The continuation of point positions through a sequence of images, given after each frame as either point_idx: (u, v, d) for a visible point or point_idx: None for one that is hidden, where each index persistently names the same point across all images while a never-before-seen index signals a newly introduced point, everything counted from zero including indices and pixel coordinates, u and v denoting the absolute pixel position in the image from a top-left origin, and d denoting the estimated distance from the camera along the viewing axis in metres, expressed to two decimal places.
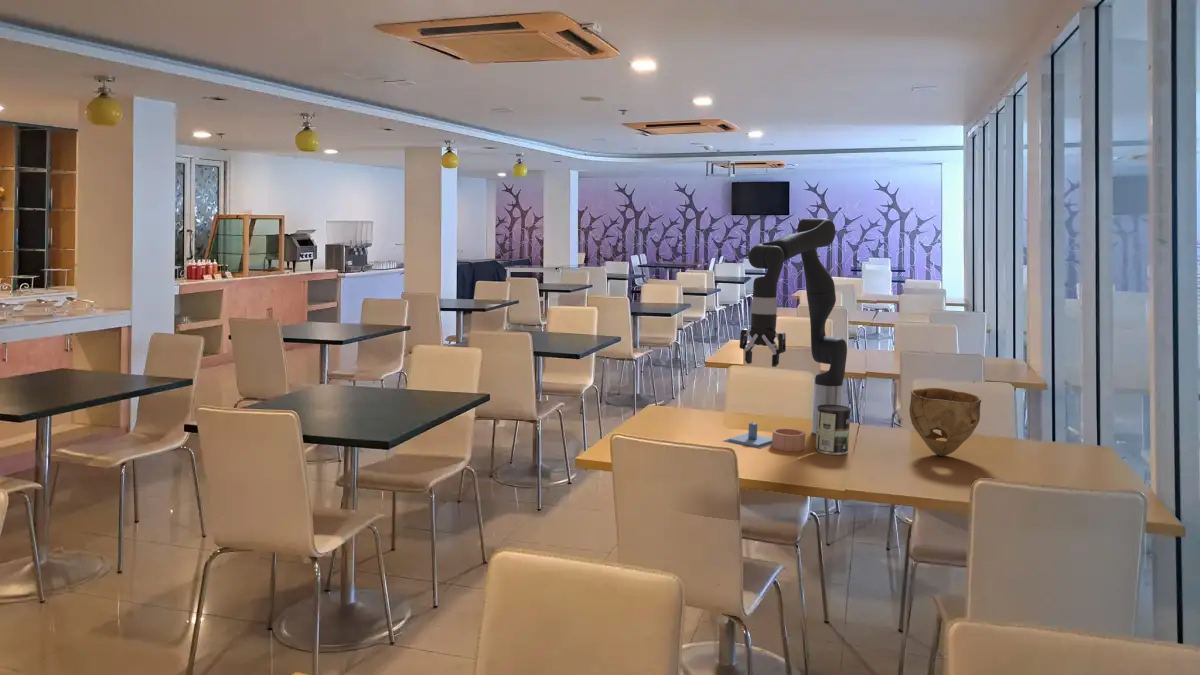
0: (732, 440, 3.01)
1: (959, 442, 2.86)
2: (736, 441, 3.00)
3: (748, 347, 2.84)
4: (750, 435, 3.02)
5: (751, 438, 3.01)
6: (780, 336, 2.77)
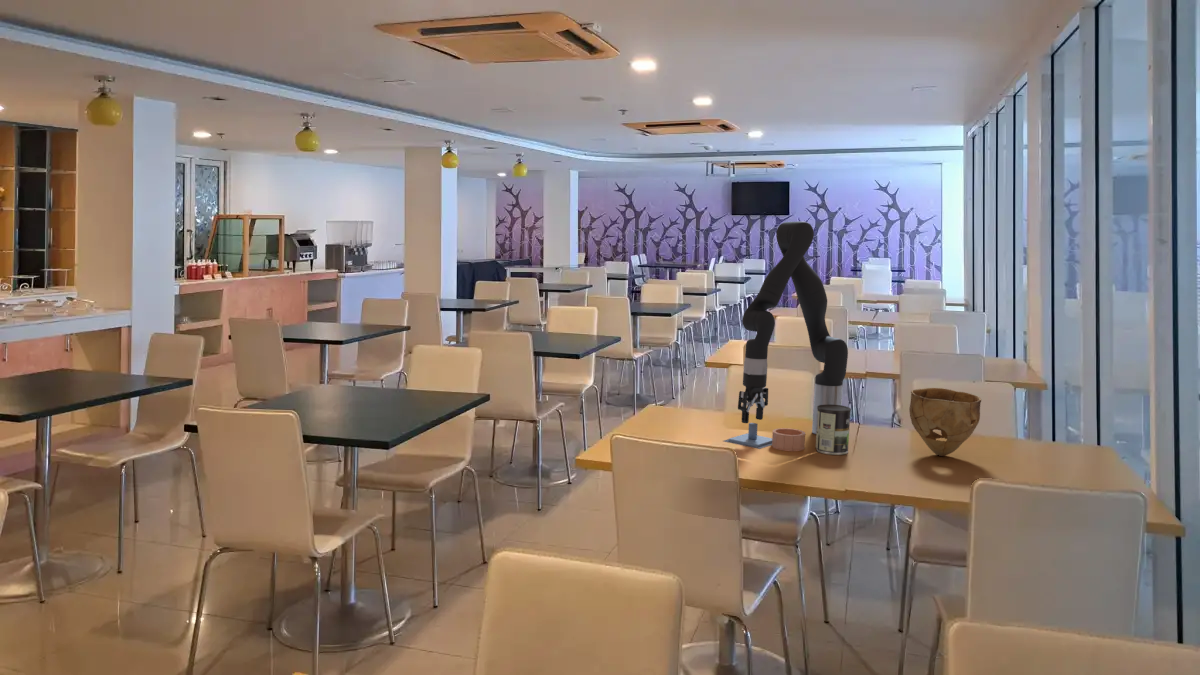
0: (732, 440, 3.01)
1: (959, 442, 2.86)
2: (736, 441, 3.00)
3: (749, 407, 2.97)
4: (750, 435, 3.02)
5: (751, 438, 3.01)
6: (767, 390, 3.05)
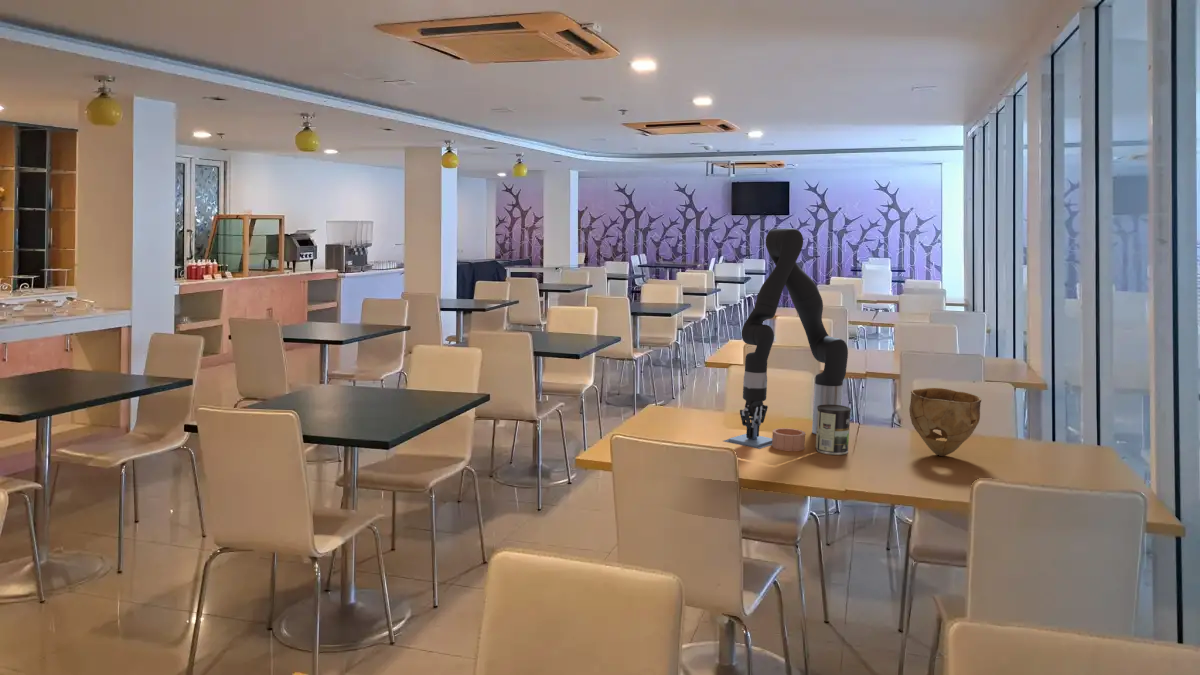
0: (732, 440, 3.01)
1: (959, 442, 2.86)
2: (736, 441, 3.00)
3: (753, 423, 3.00)
4: None
5: None
6: (766, 408, 3.05)
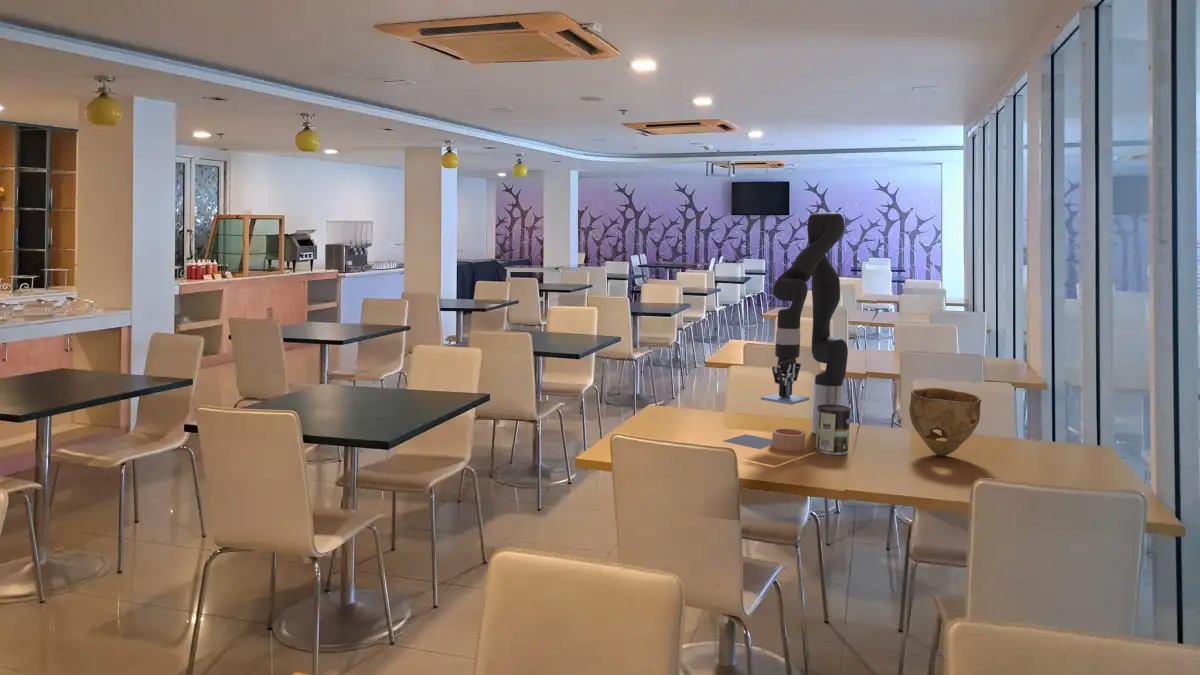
0: (764, 398, 2.95)
1: (959, 442, 2.86)
2: (768, 399, 2.93)
3: (785, 380, 2.93)
4: None
5: None
6: (799, 366, 2.98)
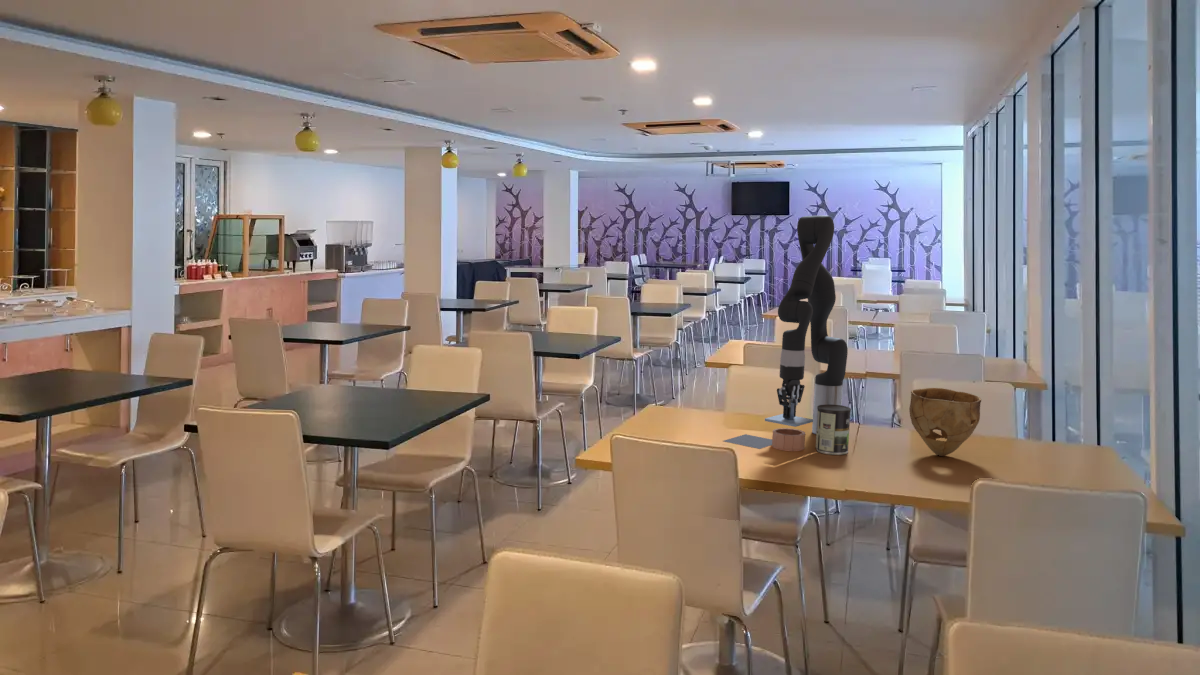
0: (768, 420, 2.94)
1: (959, 442, 2.86)
2: (772, 421, 2.93)
3: (790, 402, 2.92)
4: None
5: None
6: (803, 388, 2.98)
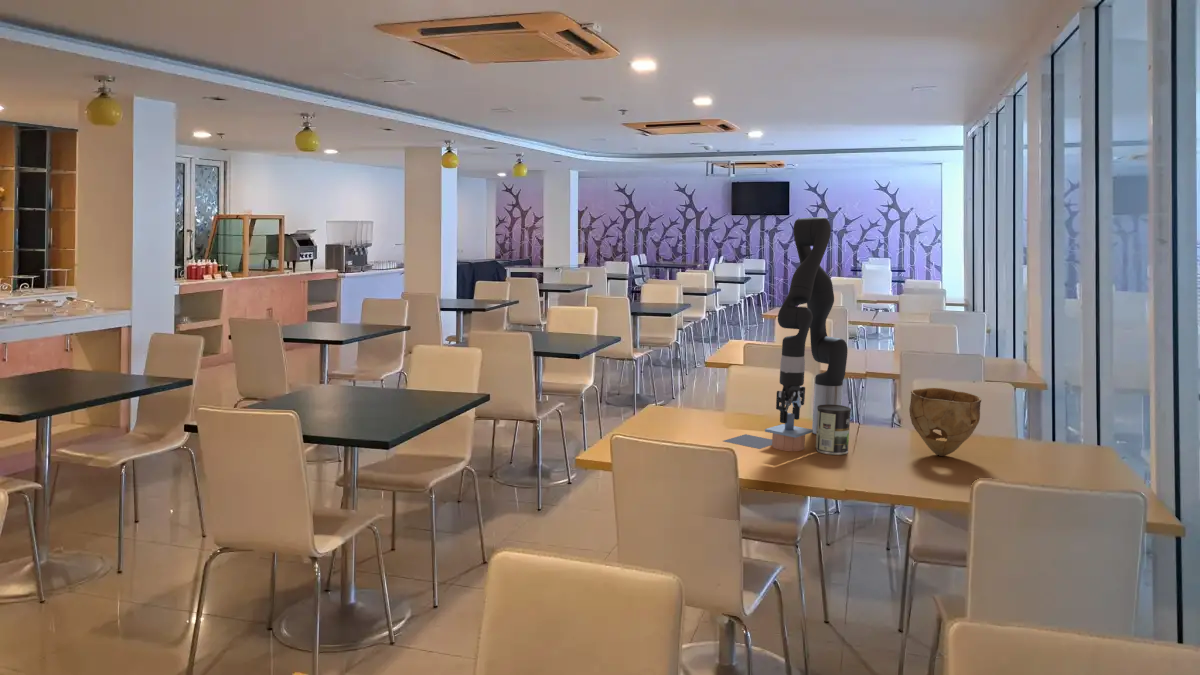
0: (768, 430, 2.94)
1: (959, 442, 2.86)
2: (773, 431, 2.94)
3: (787, 407, 2.91)
4: (787, 425, 2.95)
5: (788, 428, 2.95)
6: (804, 389, 2.98)
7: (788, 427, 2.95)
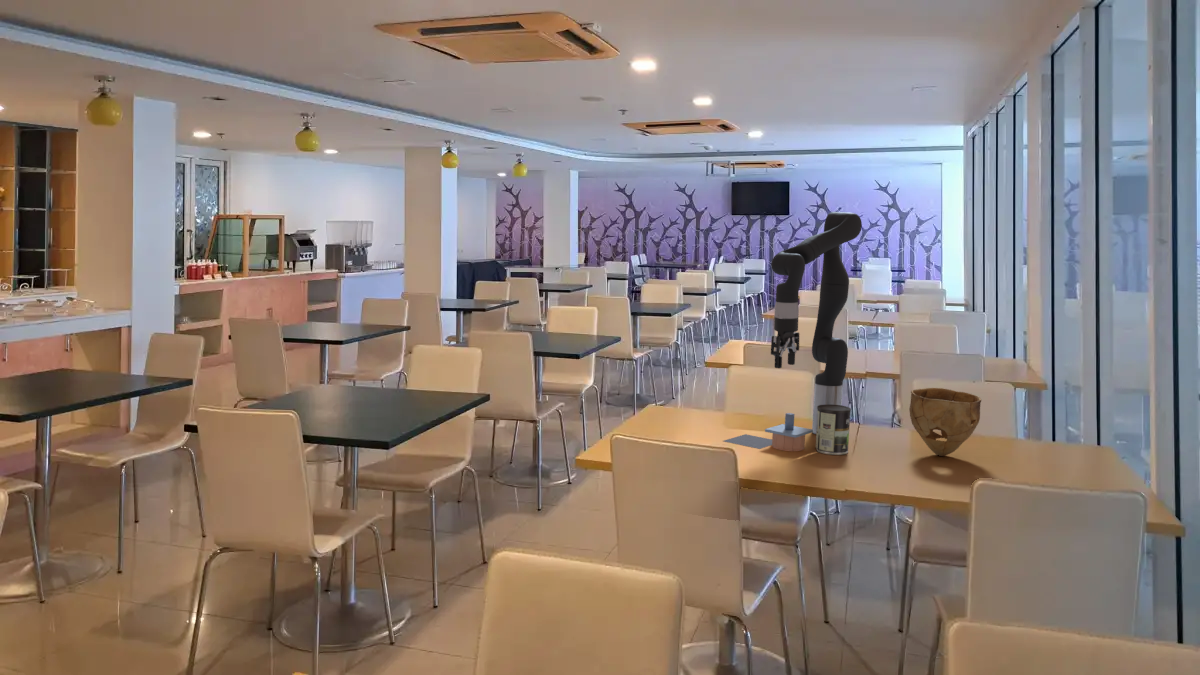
0: (768, 430, 2.94)
1: (959, 442, 2.86)
2: (773, 431, 2.94)
3: (782, 352, 2.94)
4: (787, 425, 2.95)
5: (788, 428, 2.95)
6: (798, 335, 3.02)
7: (788, 427, 2.95)
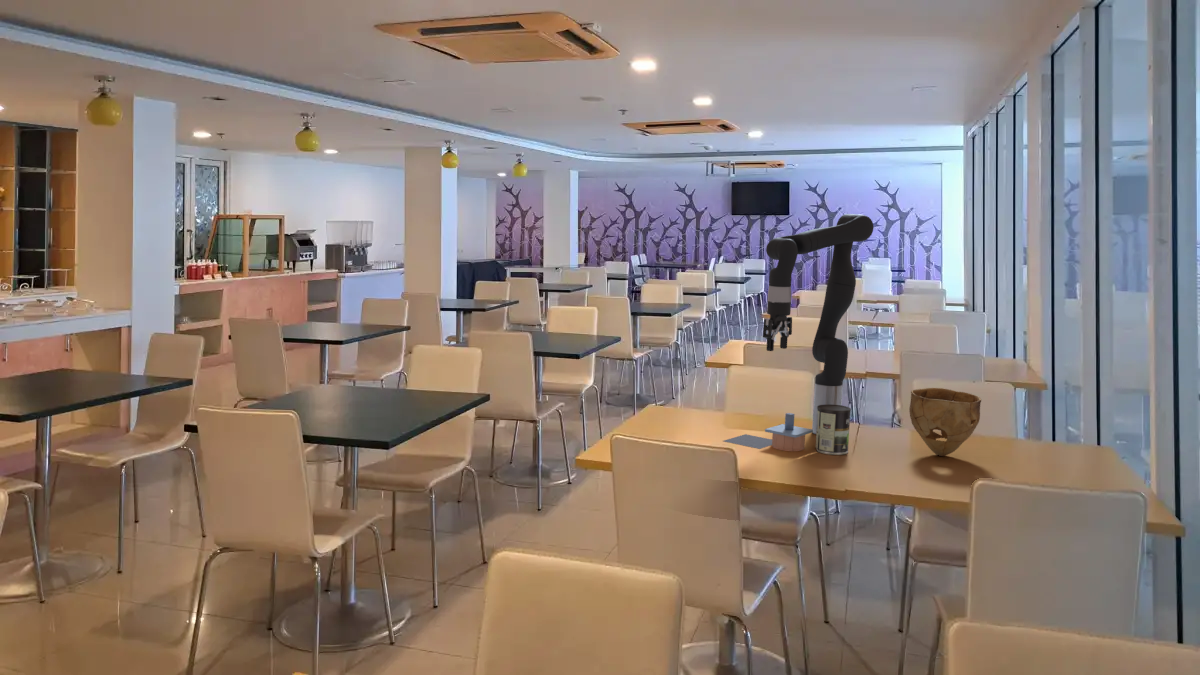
0: (768, 430, 2.94)
1: (959, 442, 2.86)
2: (773, 431, 2.94)
3: (774, 335, 3.00)
4: (787, 425, 2.95)
5: (788, 428, 2.95)
6: (791, 319, 3.07)
7: (788, 427, 2.95)
